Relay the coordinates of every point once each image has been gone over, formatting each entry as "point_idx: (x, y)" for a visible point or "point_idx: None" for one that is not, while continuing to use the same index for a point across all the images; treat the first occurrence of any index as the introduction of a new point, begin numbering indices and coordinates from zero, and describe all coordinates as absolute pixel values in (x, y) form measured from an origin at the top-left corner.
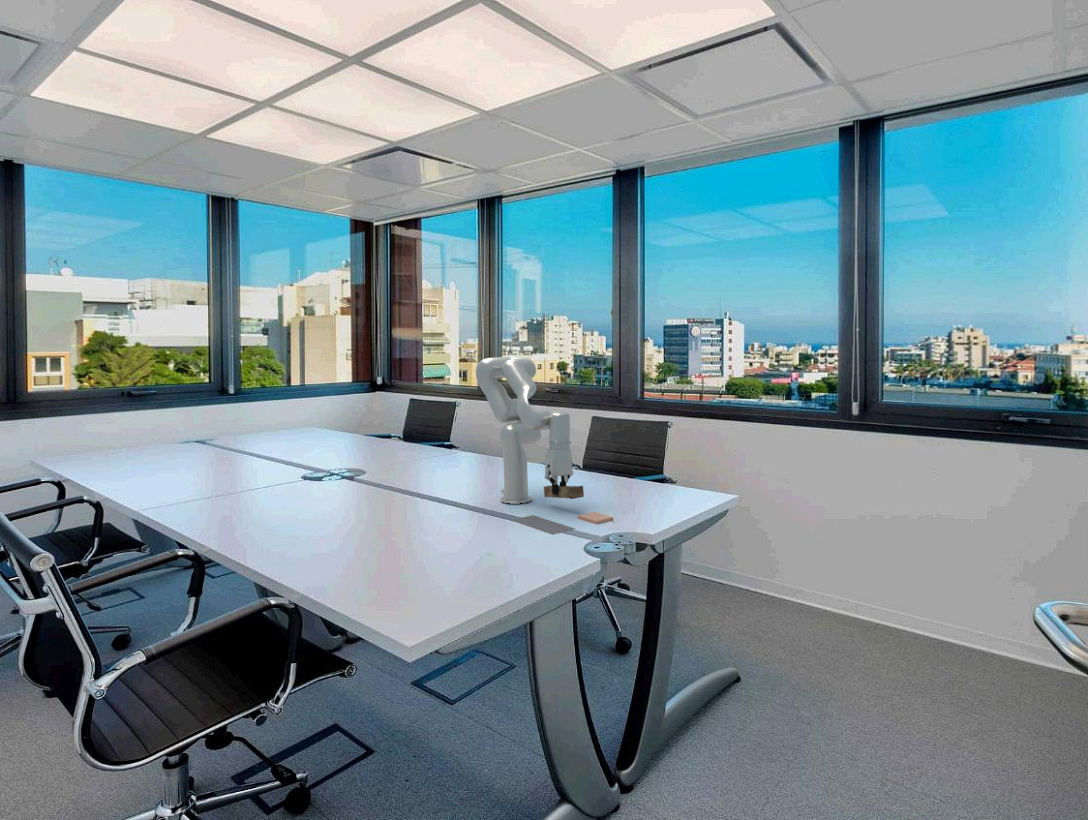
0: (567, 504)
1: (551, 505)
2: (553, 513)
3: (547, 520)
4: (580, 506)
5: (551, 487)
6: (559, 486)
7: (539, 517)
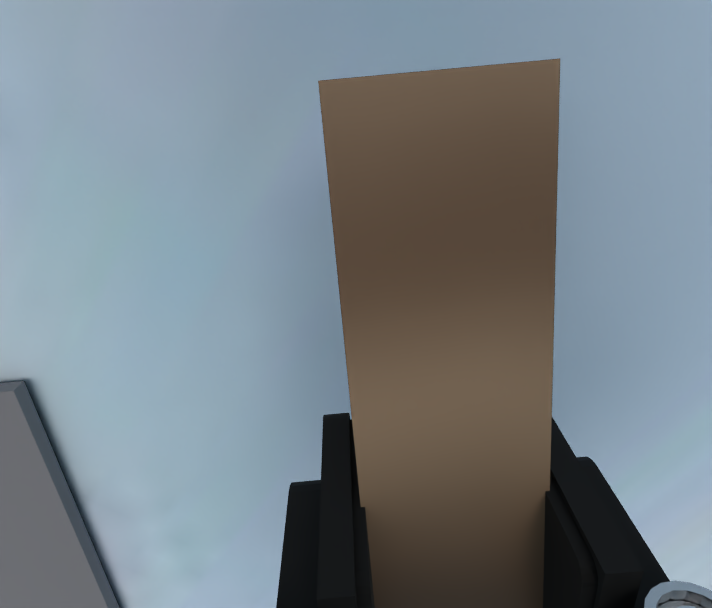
0: (691, 114)
1: (498, 15)
2: (287, 366)
3: (81, 581)
4: (708, 294)
5: (353, 426)
6: (458, 585)
7: (46, 486)
